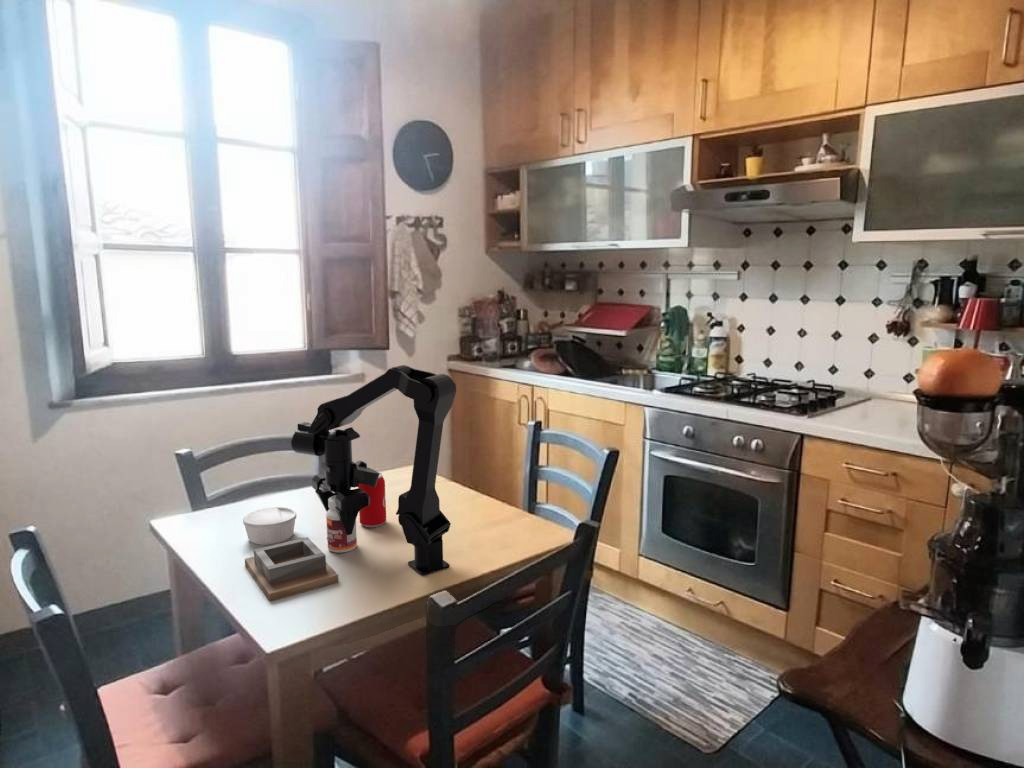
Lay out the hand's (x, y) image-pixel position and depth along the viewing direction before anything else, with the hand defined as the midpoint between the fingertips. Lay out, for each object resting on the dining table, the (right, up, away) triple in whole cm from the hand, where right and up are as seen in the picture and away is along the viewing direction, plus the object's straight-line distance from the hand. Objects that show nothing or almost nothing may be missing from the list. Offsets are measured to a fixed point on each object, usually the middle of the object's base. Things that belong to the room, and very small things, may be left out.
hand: (341, 527), depth 140 cm
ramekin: (-18, -4, +7) cm, 19 cm away
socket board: (-7, -7, -11) cm, 15 cm away
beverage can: (+4, -2, +14) cm, 15 cm away
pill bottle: (0, -5, +1) cm, 5 cm away
